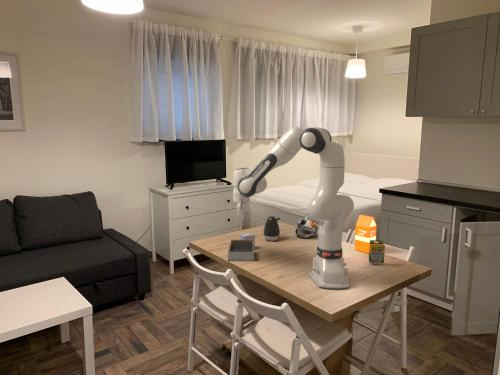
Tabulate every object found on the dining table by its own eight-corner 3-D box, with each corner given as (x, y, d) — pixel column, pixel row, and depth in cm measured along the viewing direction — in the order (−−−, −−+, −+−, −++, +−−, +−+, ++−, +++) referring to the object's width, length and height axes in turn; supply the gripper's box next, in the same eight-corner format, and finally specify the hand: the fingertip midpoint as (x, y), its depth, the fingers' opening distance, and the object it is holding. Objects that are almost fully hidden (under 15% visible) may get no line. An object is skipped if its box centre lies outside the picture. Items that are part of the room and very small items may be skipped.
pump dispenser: (280, 242, 233) (280, 218, 230) (263, 242, 233) (263, 218, 231) (279, 237, 243) (279, 214, 241) (263, 237, 243) (263, 214, 241)
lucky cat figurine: (319, 233, 249) (320, 214, 244) (317, 243, 239) (319, 223, 233) (296, 231, 253) (297, 212, 247) (293, 240, 242) (295, 220, 236)
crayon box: (370, 263, 197) (371, 241, 196) (368, 261, 200) (369, 239, 198) (384, 263, 197) (385, 241, 195) (382, 261, 200) (383, 240, 198)
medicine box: (250, 247, 224) (250, 232, 222) (254, 248, 220) (255, 234, 219) (239, 249, 219) (239, 235, 217) (244, 251, 215) (244, 236, 214)
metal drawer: (253, 261, 200) (253, 247, 199) (227, 260, 200) (227, 247, 199) (253, 252, 213) (253, 239, 212) (229, 252, 213) (229, 239, 212)
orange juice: (367, 252, 214) (369, 218, 211) (354, 249, 220) (355, 215, 217) (375, 250, 219) (377, 216, 216) (361, 246, 225) (363, 213, 222)
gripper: (246, 202, 191) (246, 228, 193) (247, 194, 211) (247, 219, 214) (234, 201, 191) (234, 228, 193) (236, 194, 211) (236, 218, 214)
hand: (241, 223), depth 204 cm, fingers open, 7 cm apart
